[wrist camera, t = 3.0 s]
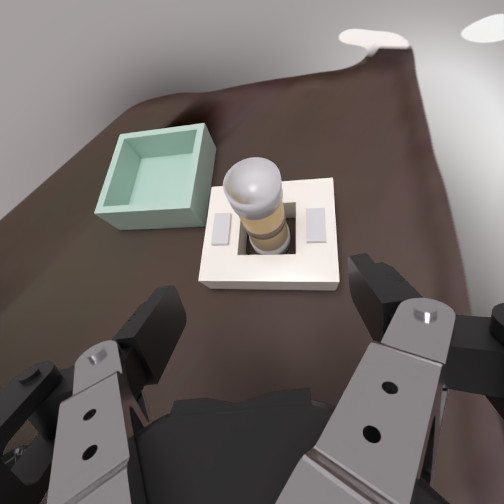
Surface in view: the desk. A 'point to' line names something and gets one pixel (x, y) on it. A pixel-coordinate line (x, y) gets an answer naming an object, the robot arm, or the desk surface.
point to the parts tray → (159, 179)
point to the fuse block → (274, 266)
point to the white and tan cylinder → (259, 204)
